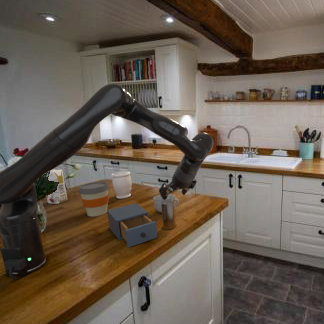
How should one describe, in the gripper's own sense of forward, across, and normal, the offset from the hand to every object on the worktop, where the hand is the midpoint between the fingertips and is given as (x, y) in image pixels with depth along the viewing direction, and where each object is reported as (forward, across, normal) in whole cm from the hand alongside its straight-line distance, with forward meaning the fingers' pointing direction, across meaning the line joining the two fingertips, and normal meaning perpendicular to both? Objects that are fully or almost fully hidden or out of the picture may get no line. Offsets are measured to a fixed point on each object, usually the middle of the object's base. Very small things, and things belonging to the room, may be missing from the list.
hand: (173, 195), depth 103 cm
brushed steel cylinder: (+17, 0, +7) cm, 18 cm away
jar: (+58, +2, -34) cm, 68 cm away
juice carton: (+70, +34, -46) cm, 91 cm away
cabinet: (+24, +14, 0) cm, 28 cm away
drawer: (+15, +14, +7) cm, 22 cm away
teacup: (+29, -7, -5) cm, 31 cm away
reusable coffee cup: (+46, +20, -22) cm, 55 cm away
